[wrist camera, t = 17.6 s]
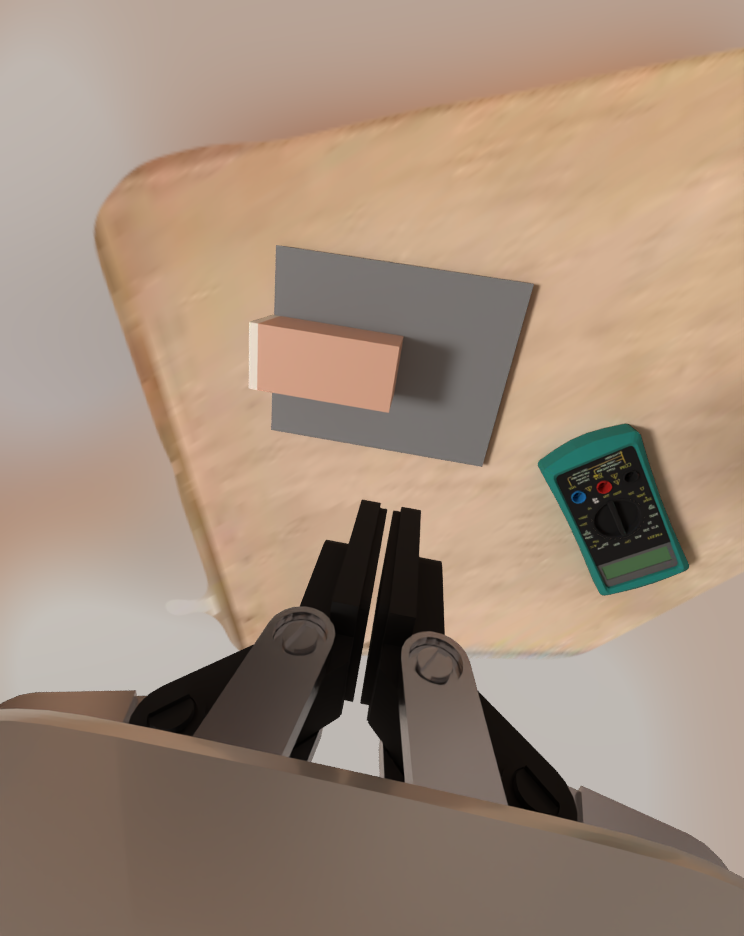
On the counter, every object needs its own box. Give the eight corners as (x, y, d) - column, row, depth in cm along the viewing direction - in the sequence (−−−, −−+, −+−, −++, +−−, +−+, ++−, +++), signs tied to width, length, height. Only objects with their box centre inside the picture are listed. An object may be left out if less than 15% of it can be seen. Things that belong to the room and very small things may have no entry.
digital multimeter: (624, 413, 32) (640, 426, 30) (677, 554, 37) (696, 576, 35) (531, 453, 35) (539, 469, 32) (592, 580, 40) (604, 603, 37)
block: (399, 346, 27) (249, 322, 27) (388, 412, 29) (249, 388, 29) (403, 336, 31) (272, 314, 31) (393, 394, 33) (270, 373, 34)
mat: (531, 283, 29) (533, 283, 28) (481, 463, 35) (482, 466, 35) (278, 245, 30) (276, 245, 29) (273, 427, 36) (271, 429, 36)
